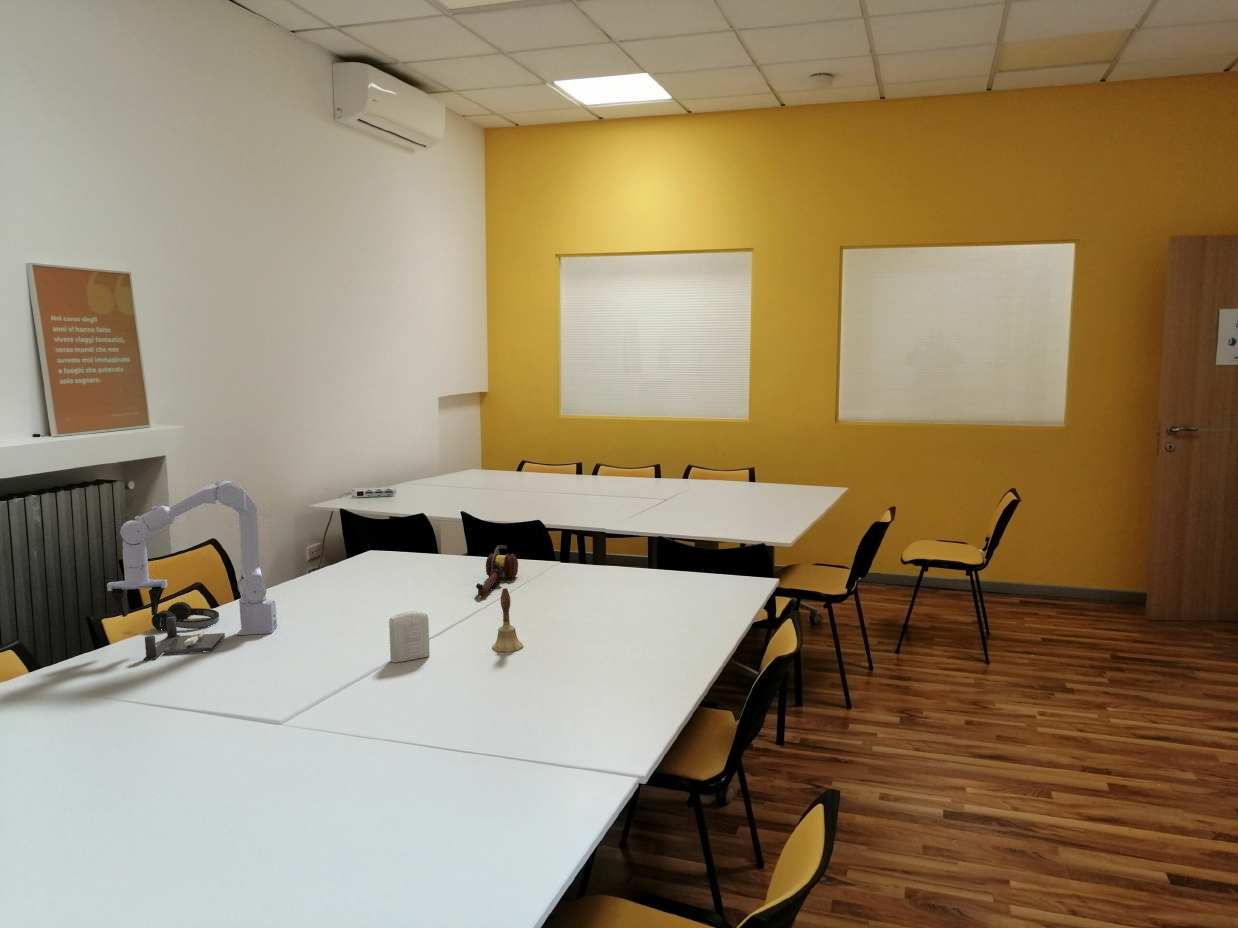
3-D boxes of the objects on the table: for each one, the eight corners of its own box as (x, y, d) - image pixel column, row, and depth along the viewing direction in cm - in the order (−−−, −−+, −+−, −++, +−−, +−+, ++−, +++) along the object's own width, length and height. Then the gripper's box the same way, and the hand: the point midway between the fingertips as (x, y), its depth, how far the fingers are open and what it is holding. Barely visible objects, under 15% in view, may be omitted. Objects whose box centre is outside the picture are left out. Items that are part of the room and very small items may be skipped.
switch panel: (224, 637, 259) (224, 632, 258) (211, 651, 246) (211, 647, 246) (179, 639, 257) (179, 635, 257) (164, 654, 244) (163, 650, 244)
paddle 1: (198, 639, 250) (197, 635, 250) (194, 643, 247) (193, 639, 246) (189, 641, 250) (188, 638, 250) (185, 645, 246) (184, 642, 246)
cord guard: (179, 636, 261) (178, 615, 260) (155, 660, 240) (154, 638, 239) (168, 637, 260) (166, 616, 259) (143, 661, 240) (141, 638, 239)
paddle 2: (204, 632, 256) (203, 629, 256) (200, 636, 252) (199, 633, 252) (195, 635, 256) (194, 631, 256) (191, 639, 252) (190, 635, 252)
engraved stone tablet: (426, 652, 242) (424, 606, 241) (432, 656, 238) (430, 610, 237) (388, 660, 236) (385, 613, 235) (393, 664, 233) (391, 617, 231)
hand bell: (485, 649, 243) (483, 590, 241) (503, 640, 251) (501, 583, 249) (511, 654, 239) (509, 594, 238) (529, 644, 247) (527, 586, 245)
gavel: (497, 606, 295) (466, 606, 296) (520, 572, 328) (493, 571, 329) (495, 576, 293) (465, 576, 294) (519, 545, 326) (491, 544, 327)
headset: (161, 585, 278) (227, 591, 278) (159, 616, 279) (226, 622, 279) (138, 597, 265) (208, 603, 265) (136, 629, 266) (206, 635, 266)
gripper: (100, 570, 242) (105, 620, 243) (159, 567, 244) (163, 617, 245) (111, 564, 249) (115, 613, 250) (168, 561, 251) (172, 610, 252)
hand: (139, 614), depth 248 cm, fingers open, 7 cm apart
